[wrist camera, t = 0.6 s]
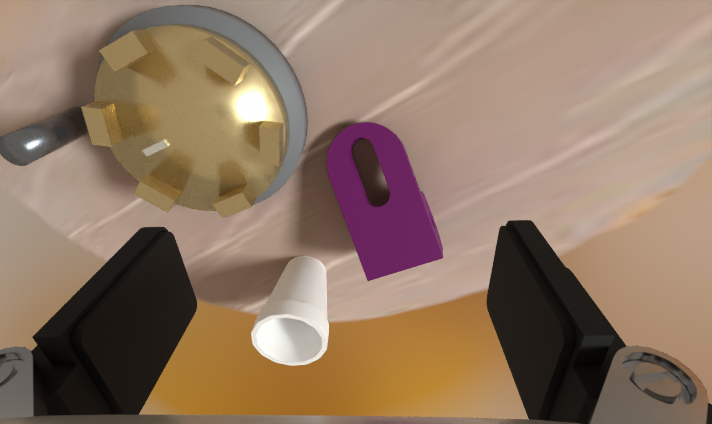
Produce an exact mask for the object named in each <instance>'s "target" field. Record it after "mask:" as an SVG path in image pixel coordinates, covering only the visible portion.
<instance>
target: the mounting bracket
mask: <svg viewBox="0 0 712 424" xmlns="http://www.w3.org/2000/svg"><path fill="white" fill-rule="evenodd" d="M360 139H368V140H369V141H370V142H371V143H372V144H373V146H374V149H375V152H376V155H377V157H378V160H379V163H380V165H381V168H382V171H383V174H384V176H385V179H386V182H387V185H388V187H389V190H390V198H389V200H388V202H387V203H386V204H384V205H374V204H373V203H371V202H370V201H369V200H368V198H367V195H366V192H365V190H364V187H363V184H362V181H361V179H360V176H359V173H358V171H357V168H356V165H355V163H354V160H353V157H352V147H353V145H354V144H355V142H357V141H358V140H360ZM327 172H328V176H329V179H330V181H331V184H332V187H333V189H334V192H335V195H336V197H337V200H338V203H339V205H340V208H341V211H342V213H343V216H344V219H345V221H346V224H347V227H348V229H349V232H350V235H351V237H352V240H353V243H354V245H355V248H356V251H357V254H358V256H359V259H360V262H361V264H362V267H363V270H364V272H365V275H366V278H367V280H368V281H370V280H373V279H376V278H380V277H383V276H386V275H389V274H393V273H396V272H399V271H403V270H406V269H409V268H412V267H416V266H419V265H422V264H425V263H429V262H432V261H435V260H438V259H442V258H443V248H442V244H441V240H440V237H439V233H438V230H437V227H436V224H435V222H434V219H433V216H432V213H431V211H430V208H429V206H428V203H427V201H426V198H425V196H424V194H423V192H420V189H419V187H418V184H417V181H416V178H415V176H414V173H413V170H412V167H411V165H410V162H409V159H408V156H407V154H406V151H405V148H404V146H403V144H402V142H401V141H400V139H399V138H398V137H397V136H396V135H395V134H394V133H393V132H392V131H390V130H389V129H387V128H386V127H384V126H382V125H379V124H376V123H369V122H364V123H357V124H354V125H351V126H349V127H347V128H345V129H344V130H343V131H341V132H340V133H339V134H338V135H337V136H336V138H335V139H334V140H333V142H332V144H331V146H330V148H329V151H328V155H327Z"/></svg>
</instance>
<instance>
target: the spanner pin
mask: <svg viewBox="0 0 712 424" xmlns="http://www.w3.org/2000/svg"><path fill="white" fill-rule="evenodd" d="M88 133H89V132H88V129H87V125H86V122H85V118H84V115H83V111H82V108H79V107H75V108H72V109H69V110H67V111H64V112H62V113H59V114H57V115H54V116H52V117H49V118H47V119H44V120H42V121H39V122H37V123H34V124H32V125H29V126H27V127H24V128H21V129H19V130H16V131H14V132H11V133H9V134H6V135H4V136H1V137H0V154H1V155H2V156H3V157H4V158H5V159H6V160H7V161H9V162H11V163H12V164H15V165H18V166H25V165H28V164H30V163H32V162H33V161H35V160H37V159H39V158H41V157H43V156H45V155H47V154H49V153H51V152H53V151H55V150H57V149H59V148H61V147H63V146H65V145H67V144H69V143H71V142H73V141H75V140H77V139H79V138H81V137H83V136H85V135H86V134H88Z"/></svg>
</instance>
